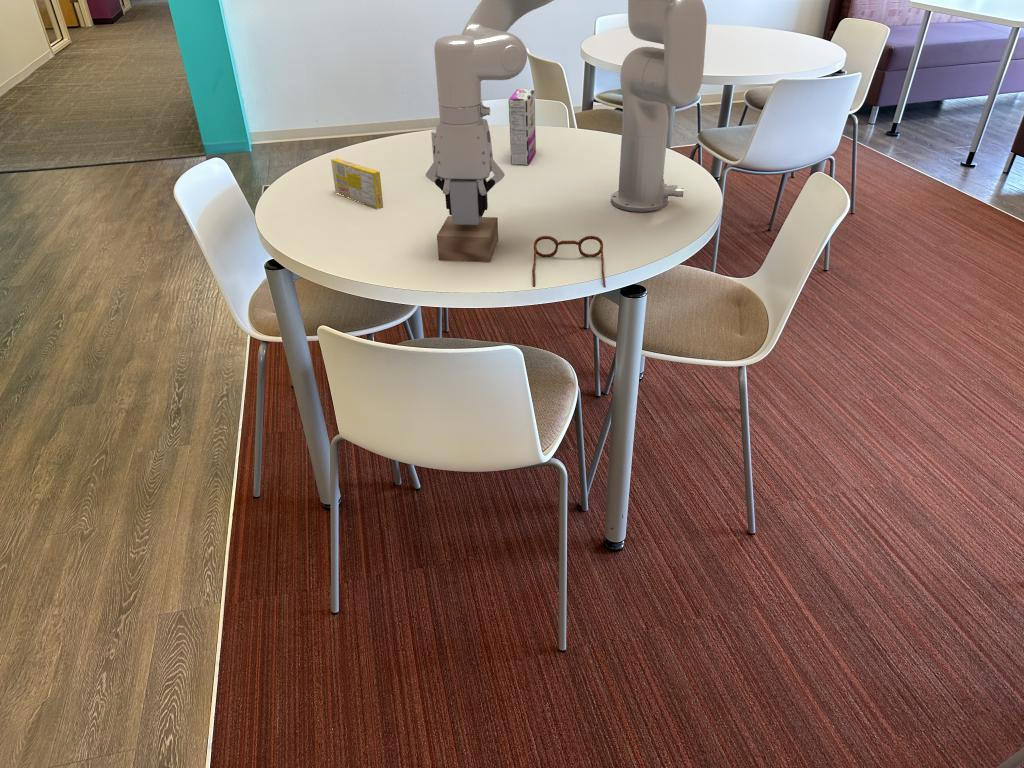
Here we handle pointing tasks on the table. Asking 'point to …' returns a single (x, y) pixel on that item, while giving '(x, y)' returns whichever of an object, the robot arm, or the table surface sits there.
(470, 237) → the block
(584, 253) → the glasses
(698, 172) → the table surface
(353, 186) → the candy box
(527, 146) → the candy bar box
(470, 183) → the grey block
